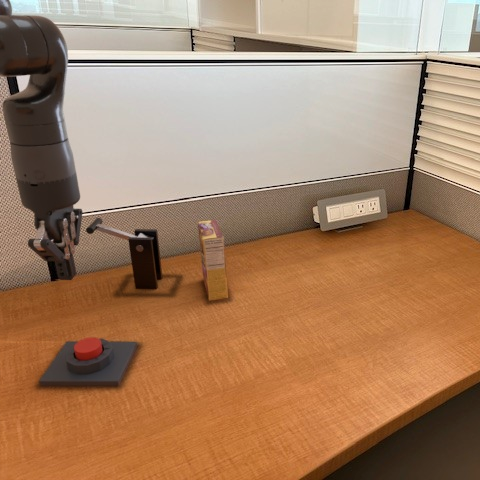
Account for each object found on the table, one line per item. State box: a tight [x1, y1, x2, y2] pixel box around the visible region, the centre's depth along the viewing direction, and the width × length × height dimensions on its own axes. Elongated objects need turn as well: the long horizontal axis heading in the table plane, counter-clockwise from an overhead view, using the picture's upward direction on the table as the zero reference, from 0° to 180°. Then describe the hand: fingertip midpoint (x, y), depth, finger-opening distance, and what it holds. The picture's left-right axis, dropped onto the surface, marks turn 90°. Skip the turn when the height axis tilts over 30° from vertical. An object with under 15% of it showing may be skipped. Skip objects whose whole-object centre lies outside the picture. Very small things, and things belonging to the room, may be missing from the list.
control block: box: [38, 338, 138, 387], centre depth 79 cm, size 12×10×4 cm
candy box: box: [197, 219, 229, 302], centre depth 99 cm, size 9×4×15 cm, turn 20°
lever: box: [85, 217, 153, 241], centre depth 97 cm, size 12×5×2 cm, turn 93°
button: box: [74, 336, 103, 361], centre depth 78 cm, size 4×4×2 cm
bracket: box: [127, 228, 163, 290], centre depth 100 cm, size 11×8×13 cm
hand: (67, 277), depth 75 cm, fingers closed
